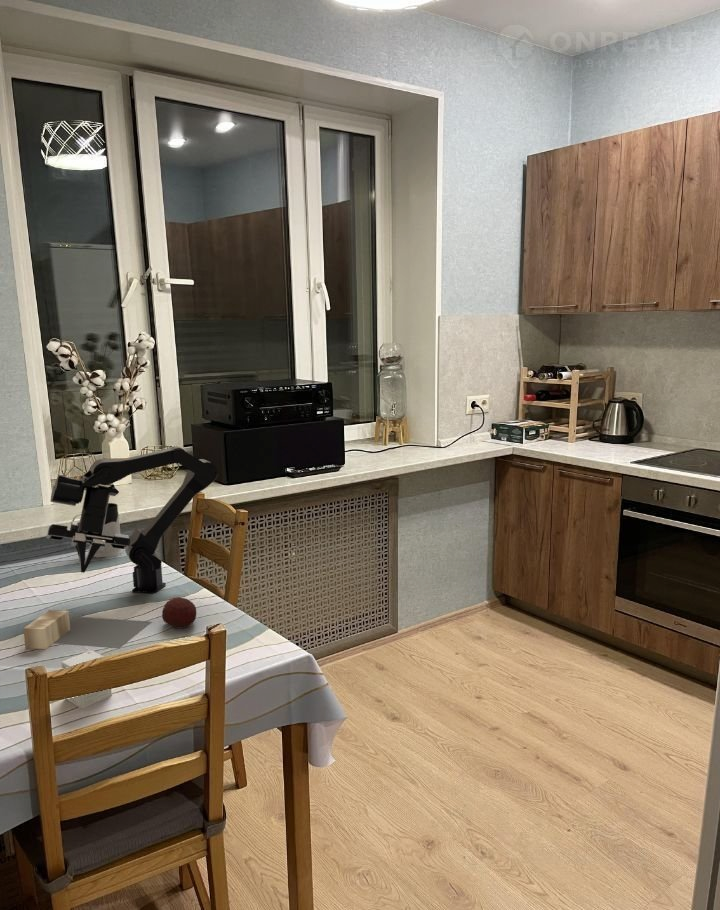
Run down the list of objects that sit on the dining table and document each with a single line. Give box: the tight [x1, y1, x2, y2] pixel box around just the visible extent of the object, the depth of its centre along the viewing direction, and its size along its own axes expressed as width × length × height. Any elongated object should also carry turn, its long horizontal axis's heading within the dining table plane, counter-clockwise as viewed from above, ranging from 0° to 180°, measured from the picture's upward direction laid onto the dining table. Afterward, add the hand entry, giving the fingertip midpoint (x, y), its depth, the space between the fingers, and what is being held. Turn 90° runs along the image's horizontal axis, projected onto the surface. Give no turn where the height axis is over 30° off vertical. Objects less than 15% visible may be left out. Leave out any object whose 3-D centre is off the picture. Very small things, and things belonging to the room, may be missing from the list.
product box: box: [61, 650, 113, 709], centre depth 125 cm, size 6×6×7 cm
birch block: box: [22, 609, 71, 650], centre depth 149 cm, size 4×4×10 cm
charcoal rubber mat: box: [53, 615, 152, 649], centre depth 153 cm, size 22×14×1 cm, turn 79°
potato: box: [161, 596, 197, 629], centre depth 156 cm, size 7×10×6 cm
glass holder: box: [71, 502, 124, 558], centre depth 210 cm, size 9×14×15 cm, turn 131°
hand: (82, 572), depth 166 cm, fingers closed
